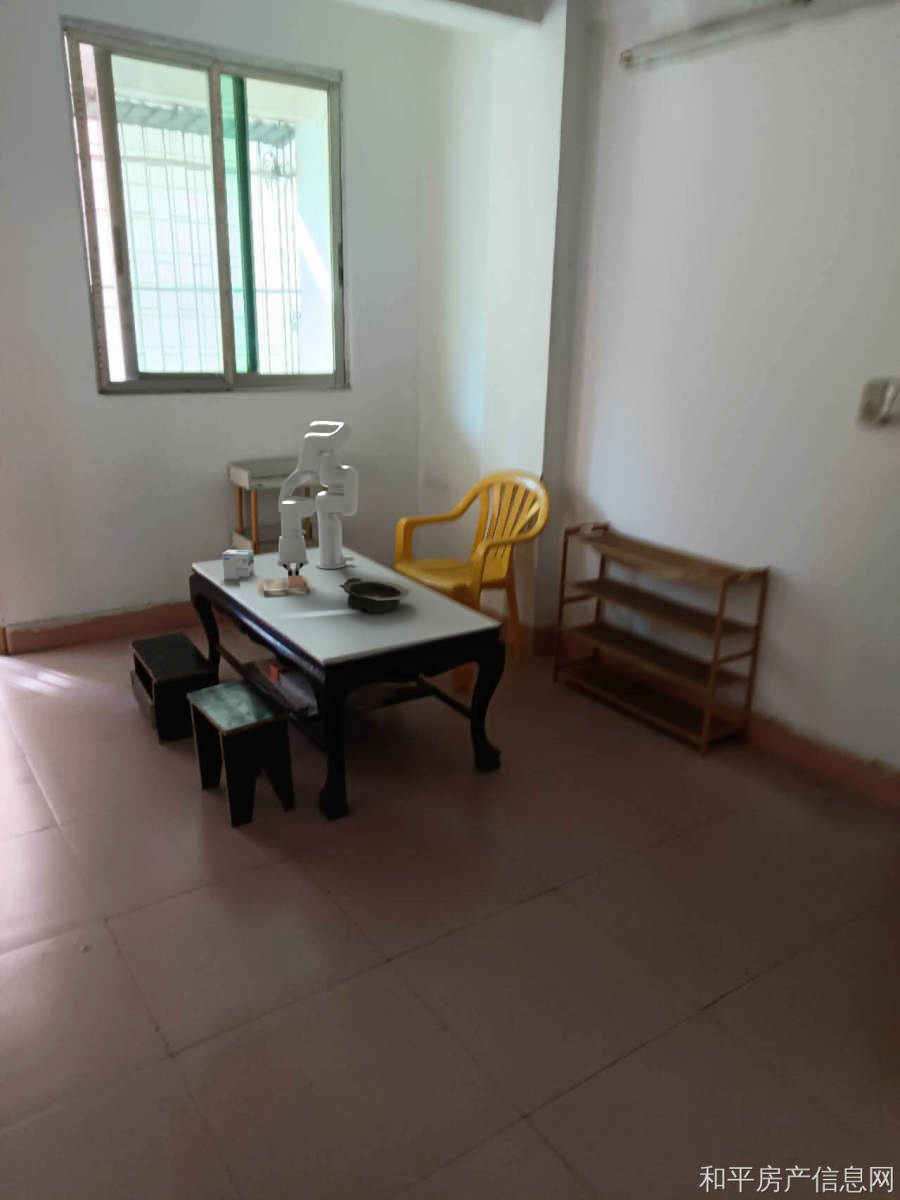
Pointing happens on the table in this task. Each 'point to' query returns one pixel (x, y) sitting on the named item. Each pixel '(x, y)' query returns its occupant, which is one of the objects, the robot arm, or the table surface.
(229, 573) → the light bulb box
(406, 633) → the table surface
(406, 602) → the table surface
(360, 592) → the stone bowl
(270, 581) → the lane shelf
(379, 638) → the table surface
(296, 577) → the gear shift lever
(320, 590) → the table surface
